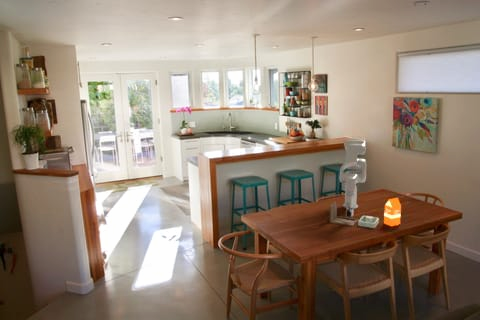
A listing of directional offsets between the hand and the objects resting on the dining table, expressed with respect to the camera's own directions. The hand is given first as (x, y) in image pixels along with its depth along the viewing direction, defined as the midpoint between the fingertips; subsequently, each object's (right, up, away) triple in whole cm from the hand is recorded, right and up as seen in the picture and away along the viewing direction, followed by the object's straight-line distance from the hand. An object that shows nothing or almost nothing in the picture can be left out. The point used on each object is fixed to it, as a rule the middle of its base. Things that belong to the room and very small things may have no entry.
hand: (349, 215), depth 301 cm
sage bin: (+13, -7, -4) cm, 15 cm away
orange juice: (+31, -6, -3) cm, 32 cm away
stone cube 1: (+15, -6, -1) cm, 16 cm away
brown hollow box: (-4, -6, +2) cm, 7 cm away
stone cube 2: (0, 0, 0) cm, 0 cm away
